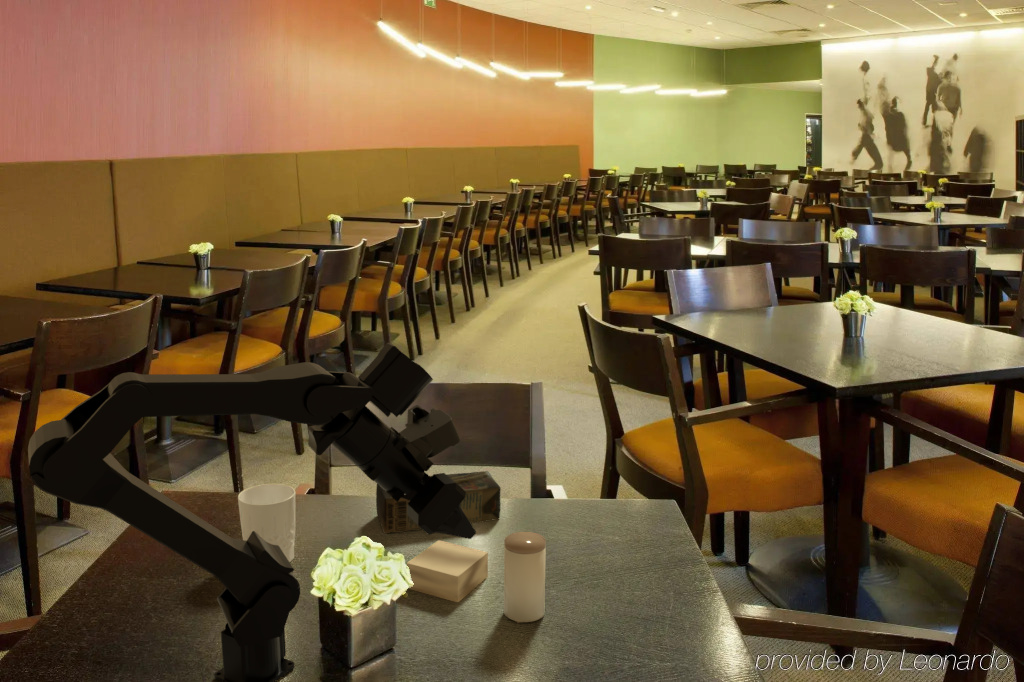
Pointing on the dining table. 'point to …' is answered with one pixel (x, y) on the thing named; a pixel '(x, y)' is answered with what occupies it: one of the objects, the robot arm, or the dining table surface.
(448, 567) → the maple block
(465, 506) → the beverage carton
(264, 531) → the white cup
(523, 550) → the jar
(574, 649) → the dining table surface
